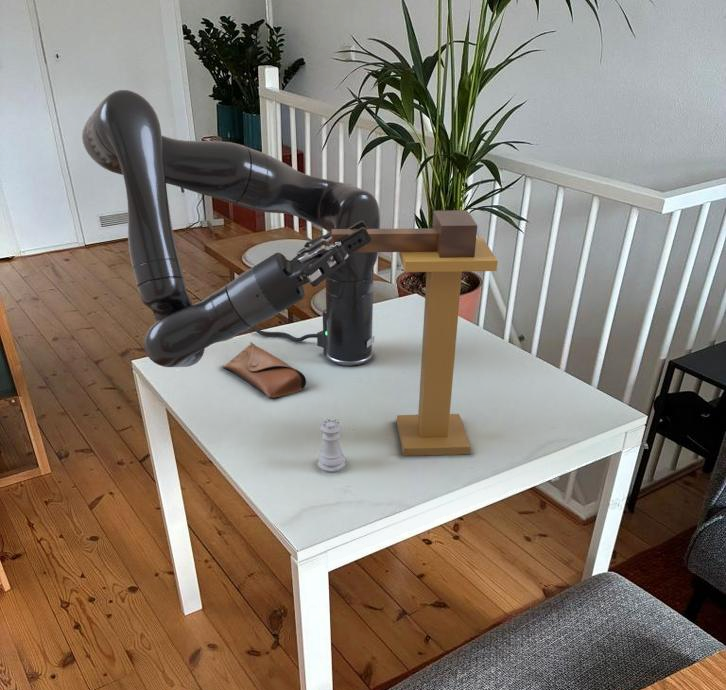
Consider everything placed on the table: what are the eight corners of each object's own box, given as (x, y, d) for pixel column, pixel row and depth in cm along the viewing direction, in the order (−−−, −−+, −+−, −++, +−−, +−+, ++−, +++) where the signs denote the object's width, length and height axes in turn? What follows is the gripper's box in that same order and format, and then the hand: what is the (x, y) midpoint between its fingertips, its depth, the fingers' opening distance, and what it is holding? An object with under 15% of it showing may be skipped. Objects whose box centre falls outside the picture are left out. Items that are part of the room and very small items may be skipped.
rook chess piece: (317, 458, 119) (315, 415, 115) (344, 457, 119) (344, 414, 115) (318, 473, 115) (316, 430, 111) (346, 472, 116) (346, 428, 111)
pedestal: (464, 420, 130) (482, 237, 111) (475, 454, 121) (497, 260, 102) (390, 422, 129) (397, 238, 111) (397, 456, 120) (405, 261, 102)
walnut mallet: (464, 240, 110) (467, 210, 107) (474, 257, 103) (477, 225, 101) (331, 241, 109) (330, 211, 106) (332, 258, 102) (332, 226, 100)
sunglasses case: (218, 366, 146) (230, 334, 144) (245, 373, 151) (257, 343, 149) (270, 399, 134) (284, 365, 133) (298, 406, 140) (311, 374, 138)
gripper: (247, 285, 101) (357, 220, 97) (253, 253, 112) (351, 194, 108) (278, 329, 105) (384, 268, 101) (281, 294, 116) (376, 238, 112)
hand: (366, 230), depth 104 cm, fingers closed on walnut mallet, 2 cm apart
